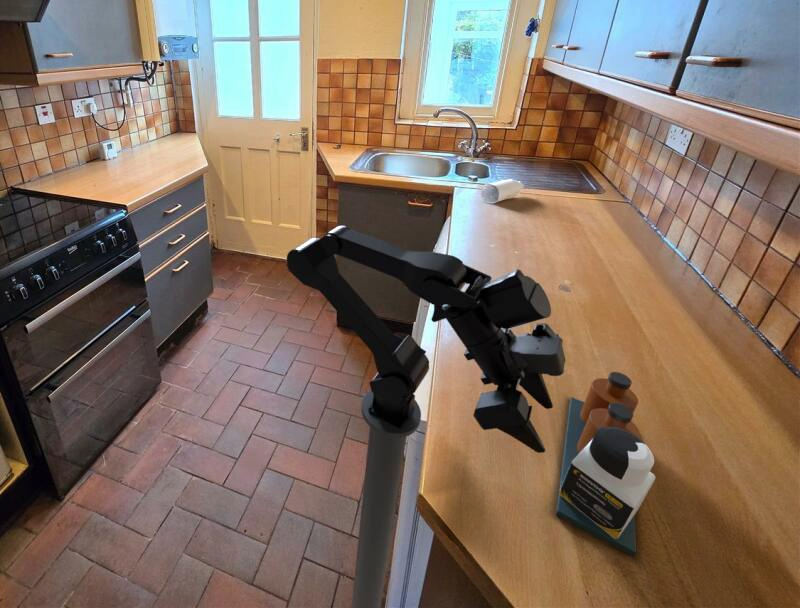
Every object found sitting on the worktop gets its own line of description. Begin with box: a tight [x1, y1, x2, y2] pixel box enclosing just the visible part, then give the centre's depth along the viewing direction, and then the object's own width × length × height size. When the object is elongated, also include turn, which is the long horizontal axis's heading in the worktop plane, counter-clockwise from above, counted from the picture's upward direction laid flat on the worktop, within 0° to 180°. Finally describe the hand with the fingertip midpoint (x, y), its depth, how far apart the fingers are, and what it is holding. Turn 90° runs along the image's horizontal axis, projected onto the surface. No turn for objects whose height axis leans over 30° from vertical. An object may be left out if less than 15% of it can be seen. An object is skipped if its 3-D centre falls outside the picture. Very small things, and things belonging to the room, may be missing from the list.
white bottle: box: [480, 178, 525, 204], centre depth 165 cm, size 8×19×8 cm, turn 117°
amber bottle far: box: [580, 371, 639, 425], centre depth 66 cm, size 6×6×10 cm
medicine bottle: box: [558, 426, 656, 539], centre depth 54 cm, size 7×7×12 cm
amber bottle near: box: [577, 403, 641, 453], centre depth 61 cm, size 6×6×10 cm
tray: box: [555, 397, 637, 557], centre depth 62 cm, size 8×24×1 cm, turn 144°
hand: (546, 428), depth 58 cm, fingers open, 9 cm apart
